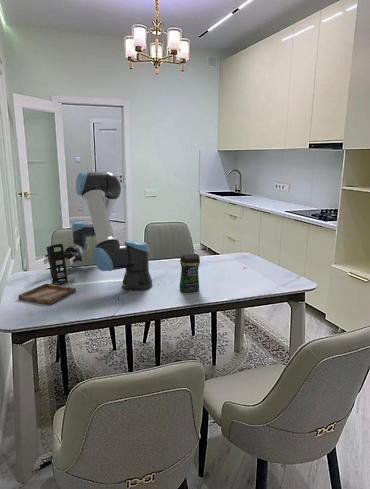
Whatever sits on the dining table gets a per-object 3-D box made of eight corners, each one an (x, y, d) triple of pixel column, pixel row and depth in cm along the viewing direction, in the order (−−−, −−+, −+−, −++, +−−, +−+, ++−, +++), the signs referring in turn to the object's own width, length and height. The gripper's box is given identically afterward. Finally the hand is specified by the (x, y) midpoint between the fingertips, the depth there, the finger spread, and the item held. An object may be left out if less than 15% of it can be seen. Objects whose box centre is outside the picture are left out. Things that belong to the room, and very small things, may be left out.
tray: (75, 292, 180) (75, 288, 180) (50, 305, 164) (50, 301, 163) (46, 287, 186) (45, 283, 186) (18, 299, 170) (18, 295, 170)
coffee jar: (182, 293, 180) (182, 256, 176) (177, 288, 187) (178, 252, 183) (201, 291, 183) (202, 255, 179) (196, 286, 190) (196, 251, 186)
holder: (60, 286, 187) (54, 247, 183) (47, 286, 189) (41, 248, 185) (71, 279, 198) (66, 243, 194) (58, 280, 199) (53, 243, 195)
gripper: (94, 259, 212) (80, 269, 192) (53, 257, 215) (34, 267, 194) (94, 246, 211) (80, 255, 190) (52, 244, 213) (33, 254, 193)
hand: (57, 261), depth 192 cm, fingers open, 13 cm apart
